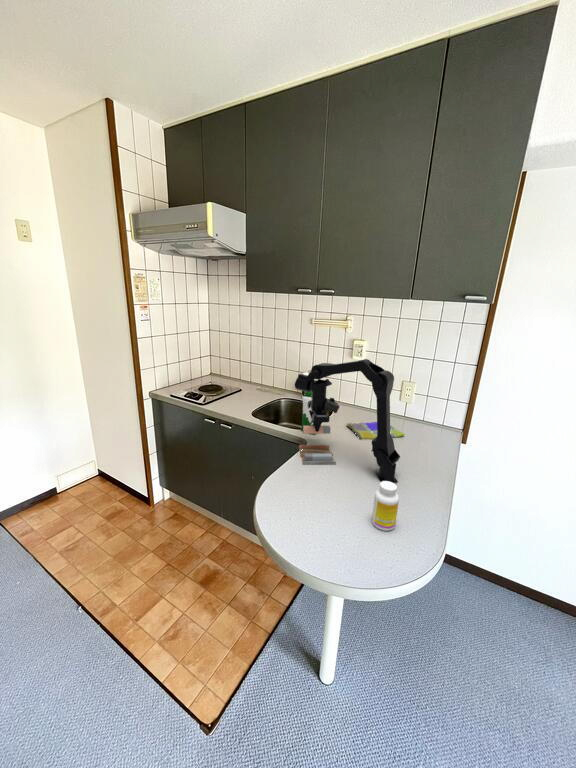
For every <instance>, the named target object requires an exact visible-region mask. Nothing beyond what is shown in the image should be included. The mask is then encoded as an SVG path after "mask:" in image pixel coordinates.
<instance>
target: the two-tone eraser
mask: <svg viewBox="0 0 576 768" xmlns="http://www.w3.org/2000/svg"><path fill="white" fill-rule="evenodd" d="M331 429H332V428H331V426H330V425H321V426H320V429H319V431H318V432H316V430H315V427H314V426H303V432H302V433H303V434H308V435H312V434H315V435H317V434H321V435H322V434H323V435H324V434H325V435H327V434H331Z"/></svg>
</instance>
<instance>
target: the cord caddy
mask: <svg viewBox="0 0 576 768" xmlns="http://www.w3.org/2000/svg"><path fill="white" fill-rule="evenodd" d="M298 449H299V453H300V458H301V463H302V465H303V466H336V465H337V461H336V460H334V458H333V459H332V461H304V453H331V454H332V456H333V457H334V454H333V452H332V451H331V450H330V445H329V444H299V445H298ZM302 449H303V450H302ZM301 450H302V451H301Z"/></svg>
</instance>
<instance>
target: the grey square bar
mask: <svg viewBox="0 0 576 768" xmlns="http://www.w3.org/2000/svg"><path fill="white" fill-rule="evenodd" d="M332 454H333V453H332ZM332 454H331V453H304V461H332V459H334V455H333V456H332Z"/></svg>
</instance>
